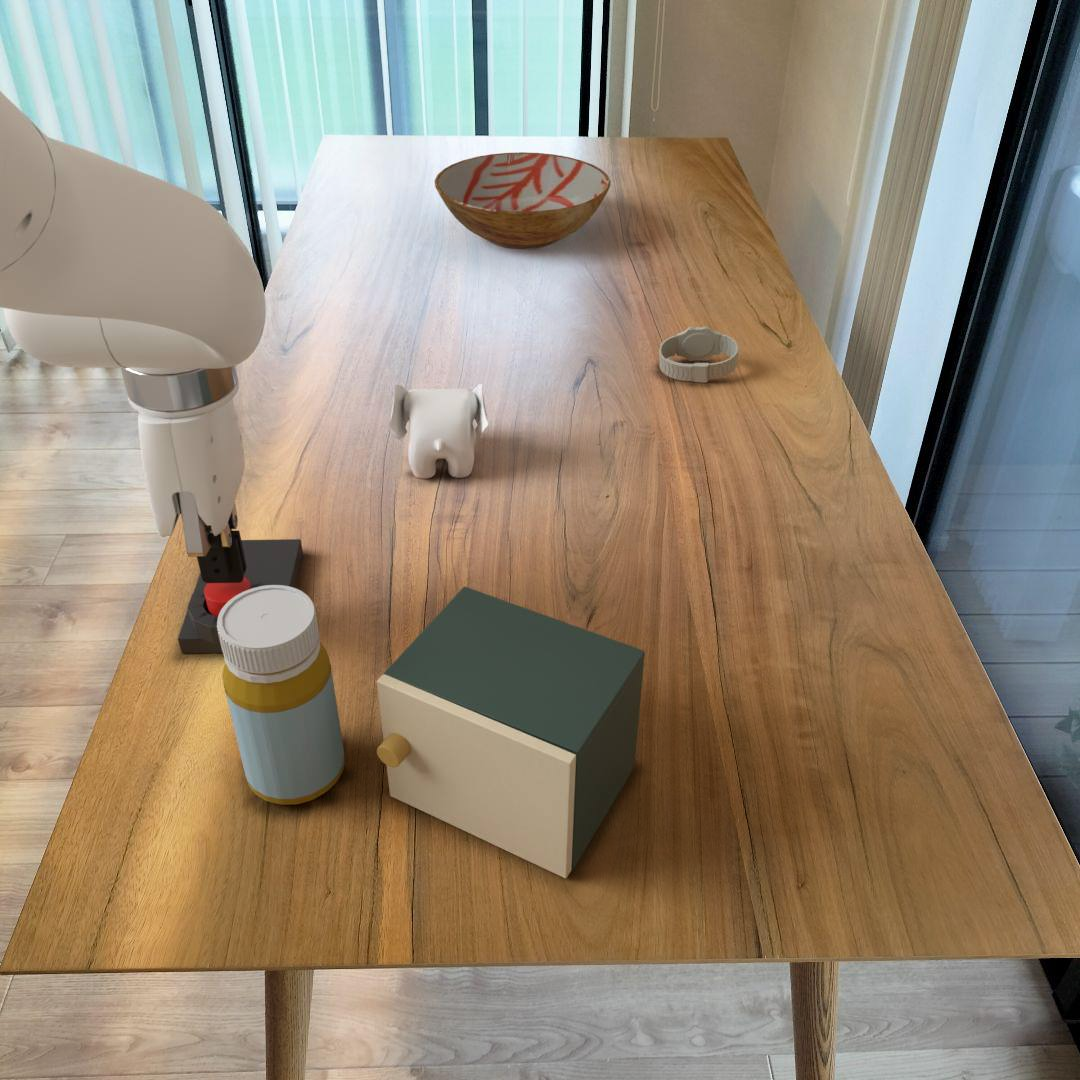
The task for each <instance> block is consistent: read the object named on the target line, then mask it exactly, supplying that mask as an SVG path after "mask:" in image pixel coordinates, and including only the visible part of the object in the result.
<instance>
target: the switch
mask: <svg viewBox="0 0 1080 1080" xmlns="http://www.w3.org/2000/svg"><path fill="white" fill-rule="evenodd" d="M241 541H242V546H243V551H244V556H245V561H246V566H247V568H246V571H245V573H244V577H246V578H247V579H248V580H249V582H250V586H251V589H252V588H256V587H260V586H266V585H283V586H289V587H293V588H296V587H297V586H296V585H297V581H298V577H299V573H300V568H301V564H302V559H303V555H304V551H303V546H302V540H301V539H299V538H295V539H293V538H292V539H291V538H290V539H286V538H285V539H283V538H281V539H241ZM207 584H208V583H205V582H204V581H203V580H202V576H201V572H200V571H199V576H198V579H197V581H196V584H195V588H194V590H193V593H192V594H191V596H190V600H189V602H188V605H187V610H186V613H185V616H184V619H183V622H182V625H181V627H180V631H179V634H178V636H177V641H178V645H179V648H180V653H181V654H182V655H183V654H223V651H222V647H221V643H220V639H219V635H218V630H217V620H218V617H216V616H213V615H212V614H211V613H210V612H209V610H208V606H207V602H206V598H205V594H204V589H205V586H206V585H207Z"/></svg>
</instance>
